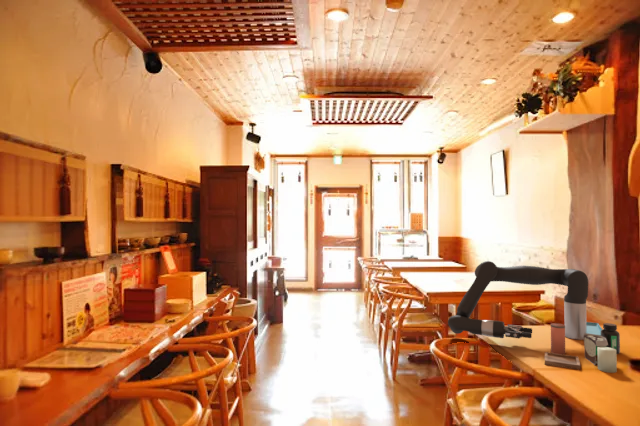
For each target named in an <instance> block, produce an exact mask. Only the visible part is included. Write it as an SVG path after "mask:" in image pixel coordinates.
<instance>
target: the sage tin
mask: <svg viewBox="0 0 640 426" xmlns="http://www.w3.org/2000/svg"><path fill="white" fill-rule="evenodd" d="M597 355H598V366H597V369H598V370H599V371H601V372H604V373H608V374H609V373H611V374H615V373H617V372H618V370H617V369H618V368H617V367H618V366H617V365H618V364H617V362H618V361H617V354H616V349H613V348H609V347H597Z"/></svg>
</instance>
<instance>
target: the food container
mask: <svg viewBox="0 0 640 426" xmlns="http://www.w3.org/2000/svg"><path fill="white" fill-rule="evenodd" d="M583 338H584V339H583V346H584V347H583V348H584V359H586V360H587V361H589V362H590V363H591V364H593V365H594V366H597V367H598V355H597V347H606V346H607V345H608V342H607V340H606V338H605V337H602V336H599V335H595V334H588V333H584V335H583Z"/></svg>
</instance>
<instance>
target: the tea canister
mask: <svg viewBox="0 0 640 426" xmlns="http://www.w3.org/2000/svg"><path fill="white" fill-rule="evenodd" d="M550 353H555V354H563V355H566V337H565V324H562V323H558V322H557V323H555V322H554V323H552V322H551V323H550Z"/></svg>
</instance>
